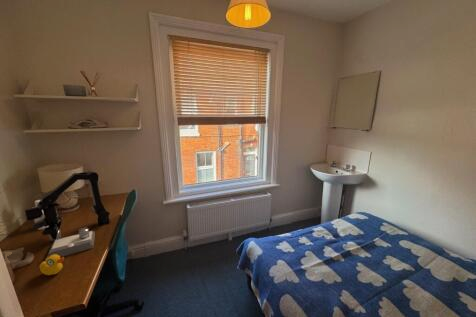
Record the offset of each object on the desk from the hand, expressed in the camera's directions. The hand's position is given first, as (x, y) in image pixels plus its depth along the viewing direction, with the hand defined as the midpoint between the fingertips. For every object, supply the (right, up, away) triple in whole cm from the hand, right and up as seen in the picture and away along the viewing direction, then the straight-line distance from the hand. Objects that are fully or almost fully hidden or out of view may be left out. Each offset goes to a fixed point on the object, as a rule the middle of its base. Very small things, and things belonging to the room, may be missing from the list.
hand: (55, 236), depth 123 cm
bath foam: (-22, +1, +15) cm, 27 cm away
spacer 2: (+19, 0, -1) cm, 19 cm away
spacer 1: (0, -1, 0) cm, 1 cm away
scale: (+15, -4, -5) cm, 17 cm away
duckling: (+22, -8, -25) cm, 34 cm away
